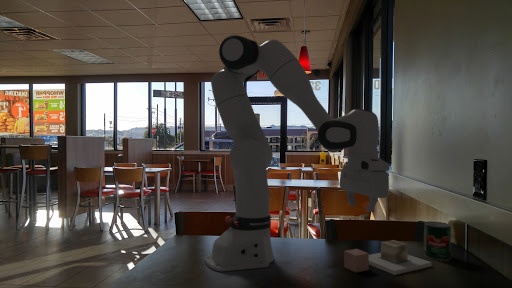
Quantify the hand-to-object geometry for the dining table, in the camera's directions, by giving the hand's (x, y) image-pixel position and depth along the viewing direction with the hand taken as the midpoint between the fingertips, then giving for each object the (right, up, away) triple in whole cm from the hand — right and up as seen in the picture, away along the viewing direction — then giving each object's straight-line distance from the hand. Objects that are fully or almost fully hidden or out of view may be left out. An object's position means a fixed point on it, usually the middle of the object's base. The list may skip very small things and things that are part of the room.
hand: (360, 208), depth 103 cm
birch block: (+12, -17, +4) cm, 21 cm away
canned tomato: (+29, -18, +10) cm, 36 cm away
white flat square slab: (+12, -18, +4) cm, 22 cm away
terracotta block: (-2, -18, -1) cm, 18 cm away
